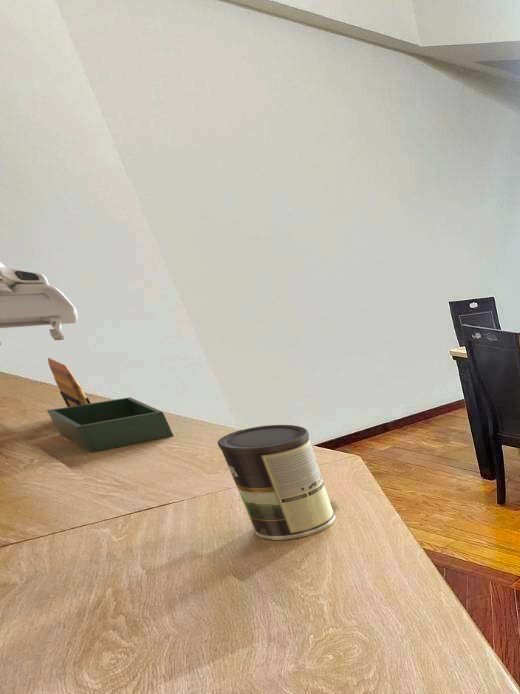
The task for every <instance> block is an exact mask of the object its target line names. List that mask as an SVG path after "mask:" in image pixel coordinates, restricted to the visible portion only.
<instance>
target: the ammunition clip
mask: <svg viewBox="0 0 520 694" xmlns="http://www.w3.org/2000/svg"><path fill="white" fill-rule="evenodd" d="M47 362H48V363H47V364H48V366H49V369H50V371H51V374H52V376H53V378H54V382H55V383H56V385H57V387H58V389H59V393H60V395H61V397H62V399H63V401H64V403H65V405H66V407H71V406H78V405H84V404H90V403H91V401H90V399H89V398H88V397H87V396H86V394H85V392H84V390H83V388H82V386H81V384H80V383H79V382H78V381H77V379H76V378H75V376H74V374H73V372H72V371H71V370H70V369H69V367H68V366H67V365H66V364H64V363H62V362H59V361H57V360H56V359H55V360H54V359H53V358H50V357H48V358H47Z"/></svg>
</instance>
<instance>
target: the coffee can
mask: <svg viewBox="0 0 520 694" xmlns="http://www.w3.org/2000/svg"><path fill="white" fill-rule="evenodd" d="M217 445H218V448H219V449H220V450H221V452H222V455H223V457H224V460H225V462H226V464H227V467H228V469H229V472H230V474H231V476H232V479H233V481H234V483H235V486H236V488H237V491H238V493H239V495H240V498H241V500H242V502H243V504H244V505H243V506H244V508H245V510H246V512H247V514H248V517H249V519H250V522H251V524H252V527H253V529H254V533H255V535H256V536H257V537H258V538H260V539H263V540H269V541H289V540H294V539H299V538H301V539H302V538H304V537H309V536H312V535H314V534H317V533H320V532H322V531H324V530H326V529H327V528H329V527H330V526H332V525H333V524H334V522H335V521H336V518H337V517H336V514H335V513H334V510H333V506H332V504H331V501H330V497H329V494H328V492H327V489H326V486H325V483H324V480H323V477H322V473H321V471H320V467H319V464H318V463H317V462H318V461H317V459H316V456H315V455H316V454H315V452H314V449H313V447H312V443H311V441H310V434H309V430H308V429H306V428H305V427H304V426H303V427H302V426H299V425H293V424H271V425H270V424H269V425H261V426H254V427H249V428H244V429H240V430H237V431H236V430H235V431H233V432H231V433H228V434H225V435H224V436H222V437H220V438H219V439H218V440H217Z"/></svg>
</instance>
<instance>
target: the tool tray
mask: <svg viewBox="0 0 520 694" xmlns="http://www.w3.org/2000/svg"><path fill="white" fill-rule="evenodd" d="M46 412H47V414H48V415H49V417H50V419H51V421H52V422H53V425H54V426H55V428H56V430H57V432H58V433H59V435H60V434H61V435H60V436H62V437H63V436H64V437H63V438H65V437H66V438H65V439H67V440H68V439H69V441H70V440H71V441H70V442H72V443H73V442H74V443H73V444H75V443H76V444H75V445H76V446H78V445H79V446H78V447H80V446H81V447H80V448H82V449H83V448H84V449H83V450H85V451H87V452H88V451H89V452H88V453H90V452H92V453H96V452H95V451H97V452H101V450H102V451H107V450H111V449H115V447H116V448H120V446H121V447H125V446H124V445H126V446H130V445H129V444H131V445H135V444H134V443H136V444H140V443H139V442H141V443H145V442H144V441H146V442H150V440H151V441H154V440H153V439H156V440H160V439H159V438H161V439H165V438H164V437H166V438H169V437H168V436H170V437H174V434H173V431H172V428H171V426H170V425H169V422H168V420H167V418H166V416H165V413H164V411H162V410H160V409H158V408H156V407H154V406H153V407H152V406H151V405H148V404H146V403H144V402H142V401H139V400H138V399H135V398H133V397H130V396H128V397H123V398H117V399H110V400H104V401H98V402H97V401H96V402H90V404H84V405H78V406H71V407H67V406H65V407H60V408H53V409H47V410H46Z"/></svg>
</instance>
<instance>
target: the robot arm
mask: <svg viewBox="0 0 520 694" xmlns="http://www.w3.org/2000/svg"><path fill="white" fill-rule="evenodd" d="M78 319H79V315H78V311H77V309H76V307H75V306H74V304H73V303H72V302H71V301H70V300H69V298H67V296H66V295H65V294H64V293H63V292H62V291H61V290H59V289H58V288H57V287H56V286H53V285H51V284H50V283H49V281H48V278H47V277H46V276H45V275H44V274H42V273H39V272H33V271H28V270H27V271H26V270H20V269H15V268H11V267H7V266H5V264H3V263H2V262H0V329H10V328H22V327H23V328H25V327H37V326H40V327H41V326H51V327H52V328H49V334H50V336H51V338H52V339H53V341H64V340H65V336H64V334H63V332H62V328H63V326H62V325H66V324H67V325H68V324H76V323H77V322H78ZM1 345H2V343H1V342H0V346H1Z"/></svg>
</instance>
